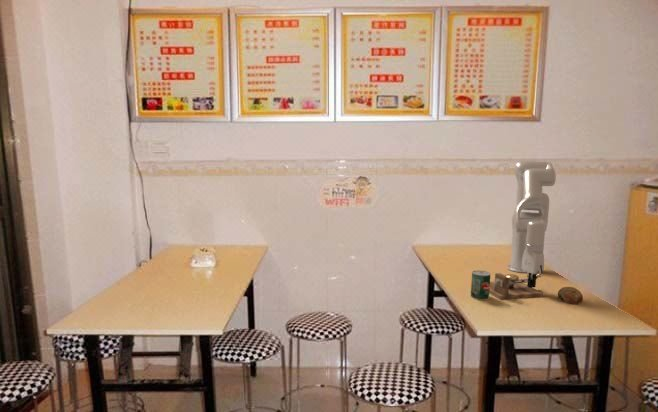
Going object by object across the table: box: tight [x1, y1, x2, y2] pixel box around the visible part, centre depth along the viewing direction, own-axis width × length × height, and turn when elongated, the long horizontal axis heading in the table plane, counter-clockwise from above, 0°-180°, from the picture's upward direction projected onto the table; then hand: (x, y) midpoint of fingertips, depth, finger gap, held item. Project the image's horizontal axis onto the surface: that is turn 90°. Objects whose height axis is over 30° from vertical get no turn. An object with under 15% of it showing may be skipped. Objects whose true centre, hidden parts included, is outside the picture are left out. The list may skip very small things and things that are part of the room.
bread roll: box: [557, 286, 584, 305], centre depth 208 cm, size 10×10×8 cm
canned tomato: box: [470, 270, 491, 301], centre depth 210 cm, size 8×8×11 cm
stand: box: [489, 272, 544, 300], centre depth 219 cm, size 22×20×10 cm
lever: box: [504, 273, 528, 289], centre depth 220 cm, size 16×6×5 cm, turn 104°
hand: (531, 286), depth 218 cm, fingers closed
